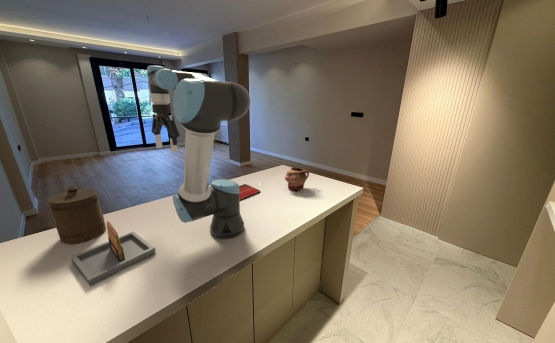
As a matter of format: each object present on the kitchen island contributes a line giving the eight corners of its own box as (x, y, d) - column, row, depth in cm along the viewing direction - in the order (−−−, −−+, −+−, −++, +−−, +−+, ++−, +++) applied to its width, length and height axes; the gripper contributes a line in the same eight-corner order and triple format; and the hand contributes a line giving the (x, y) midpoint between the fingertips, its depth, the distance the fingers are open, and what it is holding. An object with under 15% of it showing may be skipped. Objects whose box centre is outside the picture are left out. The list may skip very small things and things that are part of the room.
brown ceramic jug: (300, 182, 162) (302, 164, 158) (313, 187, 153) (315, 168, 149) (280, 188, 150) (280, 169, 145) (292, 194, 141) (293, 173, 137)
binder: (220, 192, 137) (245, 183, 152) (220, 195, 137) (245, 186, 153) (237, 200, 127) (262, 190, 143) (237, 204, 128) (261, 193, 144)
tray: (155, 253, 84) (154, 247, 83) (90, 286, 68) (88, 280, 68) (134, 236, 94) (133, 231, 93) (72, 262, 78) (70, 256, 77)
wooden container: (82, 224, 101) (70, 179, 95) (114, 225, 101) (104, 180, 95) (50, 244, 87) (32, 192, 81) (86, 245, 87) (72, 194, 80)
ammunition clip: (110, 248, 85) (103, 221, 81) (116, 246, 86) (110, 219, 82) (119, 261, 78) (112, 232, 74) (125, 259, 79) (118, 230, 76)
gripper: (184, 104, 96) (189, 152, 102) (155, 103, 110) (161, 145, 116) (168, 104, 90) (173, 155, 96) (139, 102, 104) (146, 147, 110)
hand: (166, 149), depth 106 cm, fingers open, 13 cm apart
